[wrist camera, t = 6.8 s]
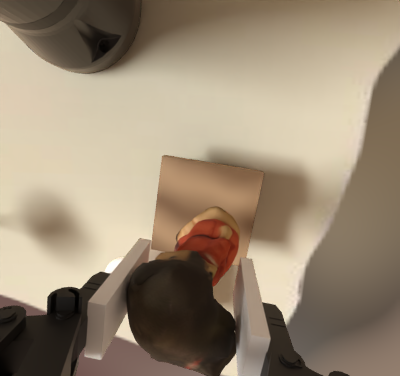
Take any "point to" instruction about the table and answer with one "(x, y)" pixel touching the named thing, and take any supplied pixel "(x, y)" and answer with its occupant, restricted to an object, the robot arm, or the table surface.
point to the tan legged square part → (203, 198)
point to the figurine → (187, 297)
